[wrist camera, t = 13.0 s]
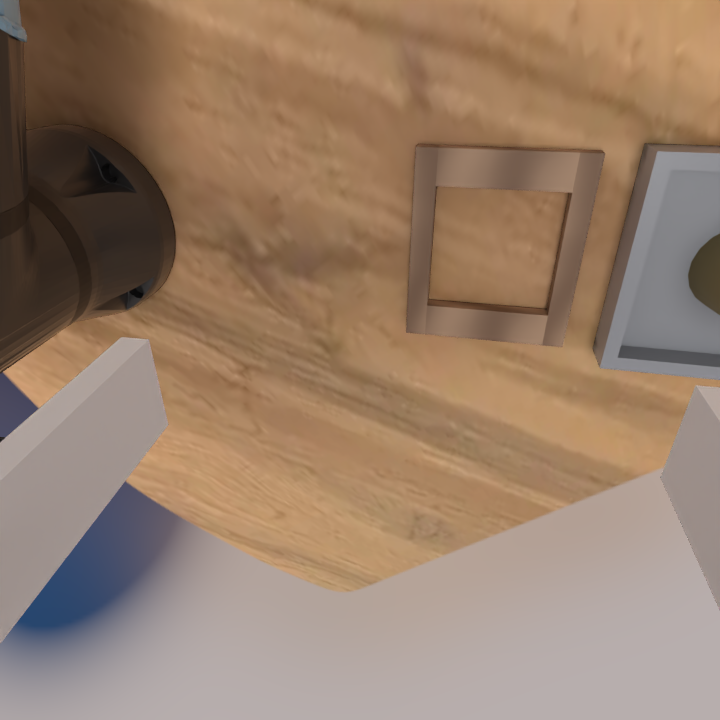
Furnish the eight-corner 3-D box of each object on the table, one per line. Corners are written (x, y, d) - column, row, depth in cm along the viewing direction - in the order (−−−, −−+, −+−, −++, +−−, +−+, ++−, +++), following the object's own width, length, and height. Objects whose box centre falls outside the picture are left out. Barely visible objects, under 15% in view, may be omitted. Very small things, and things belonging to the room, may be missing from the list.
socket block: (408, 325, 44) (406, 332, 43) (417, 144, 37) (415, 146, 36) (560, 339, 42) (562, 347, 41) (601, 150, 35) (605, 153, 34)
